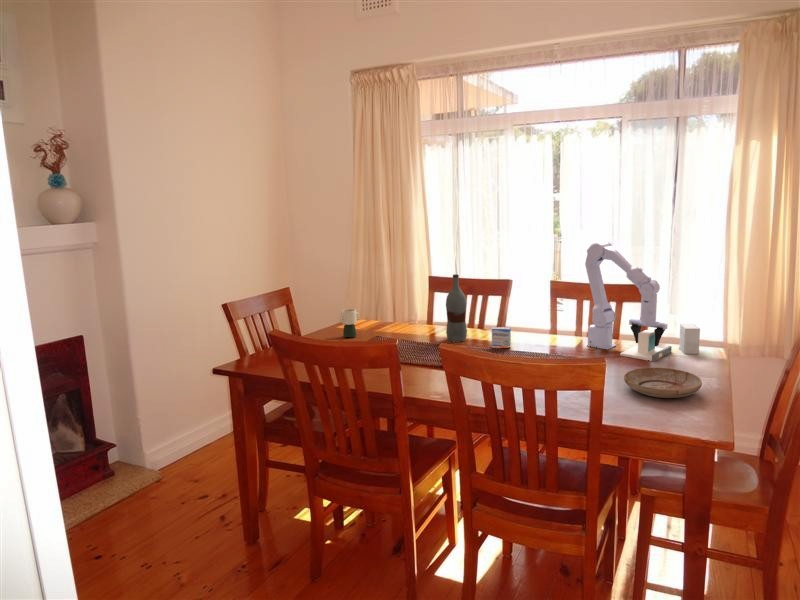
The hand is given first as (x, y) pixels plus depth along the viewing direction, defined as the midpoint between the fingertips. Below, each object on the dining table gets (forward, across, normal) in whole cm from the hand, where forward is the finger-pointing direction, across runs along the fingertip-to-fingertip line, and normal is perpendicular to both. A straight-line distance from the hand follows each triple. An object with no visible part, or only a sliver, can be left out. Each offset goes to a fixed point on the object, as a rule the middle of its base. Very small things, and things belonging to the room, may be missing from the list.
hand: (647, 344), depth 241 cm
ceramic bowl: (+4, +22, -40) cm, 46 cm away
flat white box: (+4, 0, 0) cm, 4 cm away
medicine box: (+4, -52, -27) cm, 58 cm away
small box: (+4, +12, +14) cm, 18 cm away
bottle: (+4, -74, -29) cm, 80 cm away
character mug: (+4, -118, -55) cm, 131 cm away
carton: (+3, 0, 0) cm, 3 cm away
